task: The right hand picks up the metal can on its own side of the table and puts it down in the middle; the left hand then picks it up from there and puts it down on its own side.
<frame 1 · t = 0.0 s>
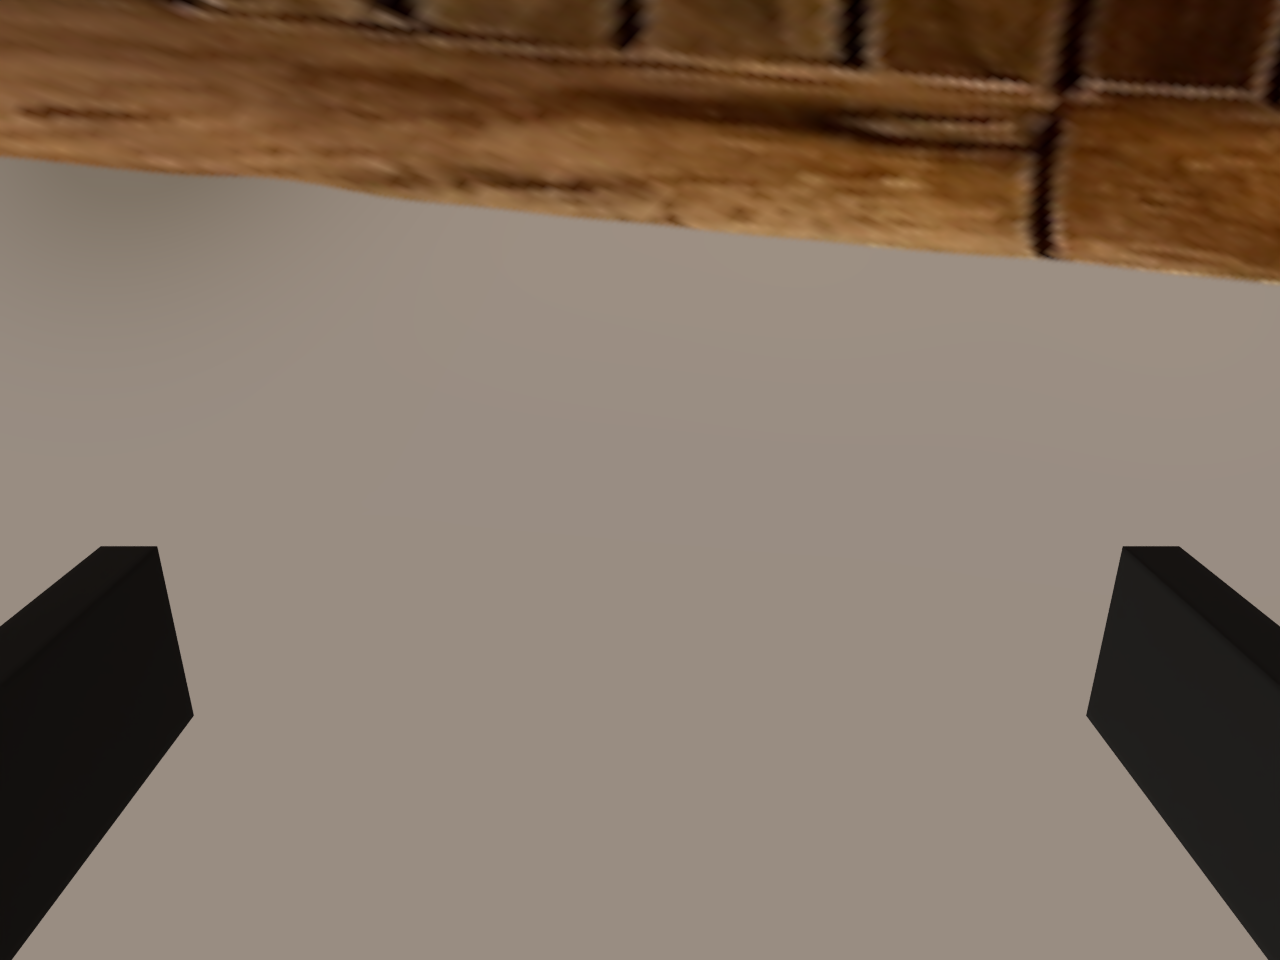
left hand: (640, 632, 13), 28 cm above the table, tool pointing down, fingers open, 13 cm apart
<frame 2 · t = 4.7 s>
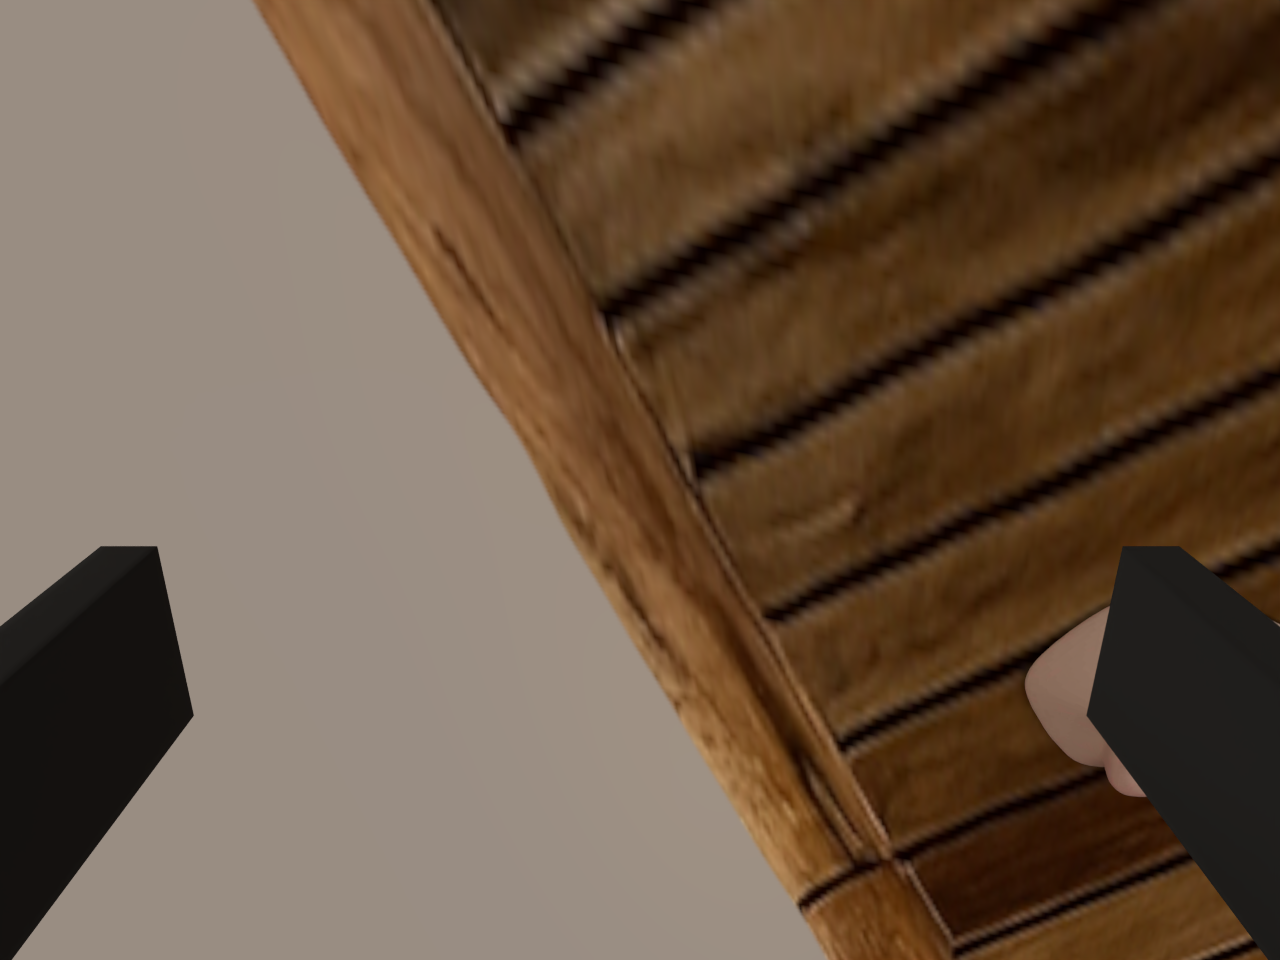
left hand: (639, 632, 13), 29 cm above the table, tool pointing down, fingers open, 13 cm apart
anatomical model: (1159, 684, 47), on the table
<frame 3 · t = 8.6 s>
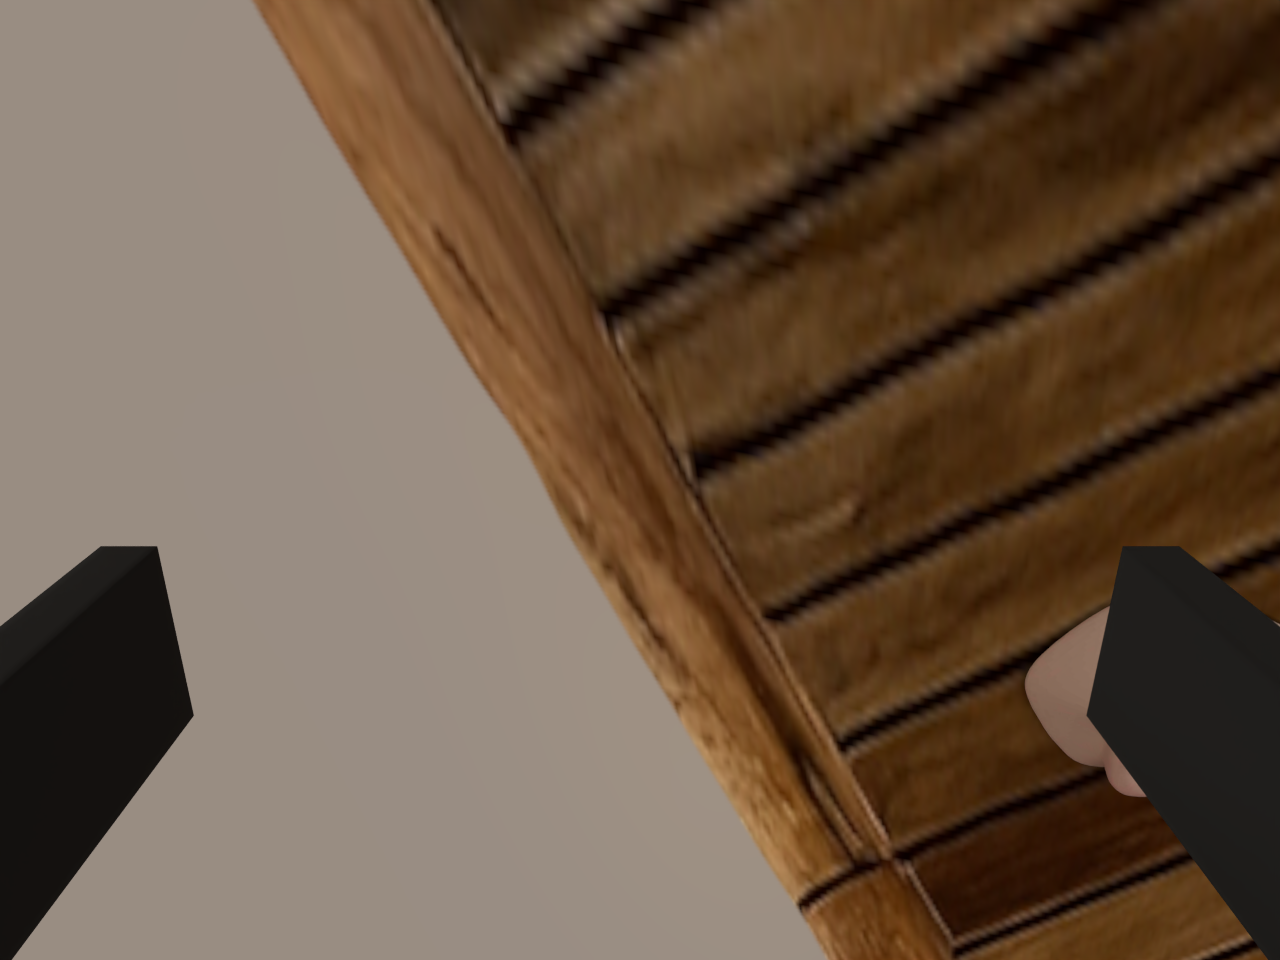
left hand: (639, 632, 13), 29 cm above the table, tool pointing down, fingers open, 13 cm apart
anatomical model: (1159, 684, 47), on the table
when the right hand's fingers open (3 cm above the table, at t = 12.7 s): can drops 1 cm, on the table.
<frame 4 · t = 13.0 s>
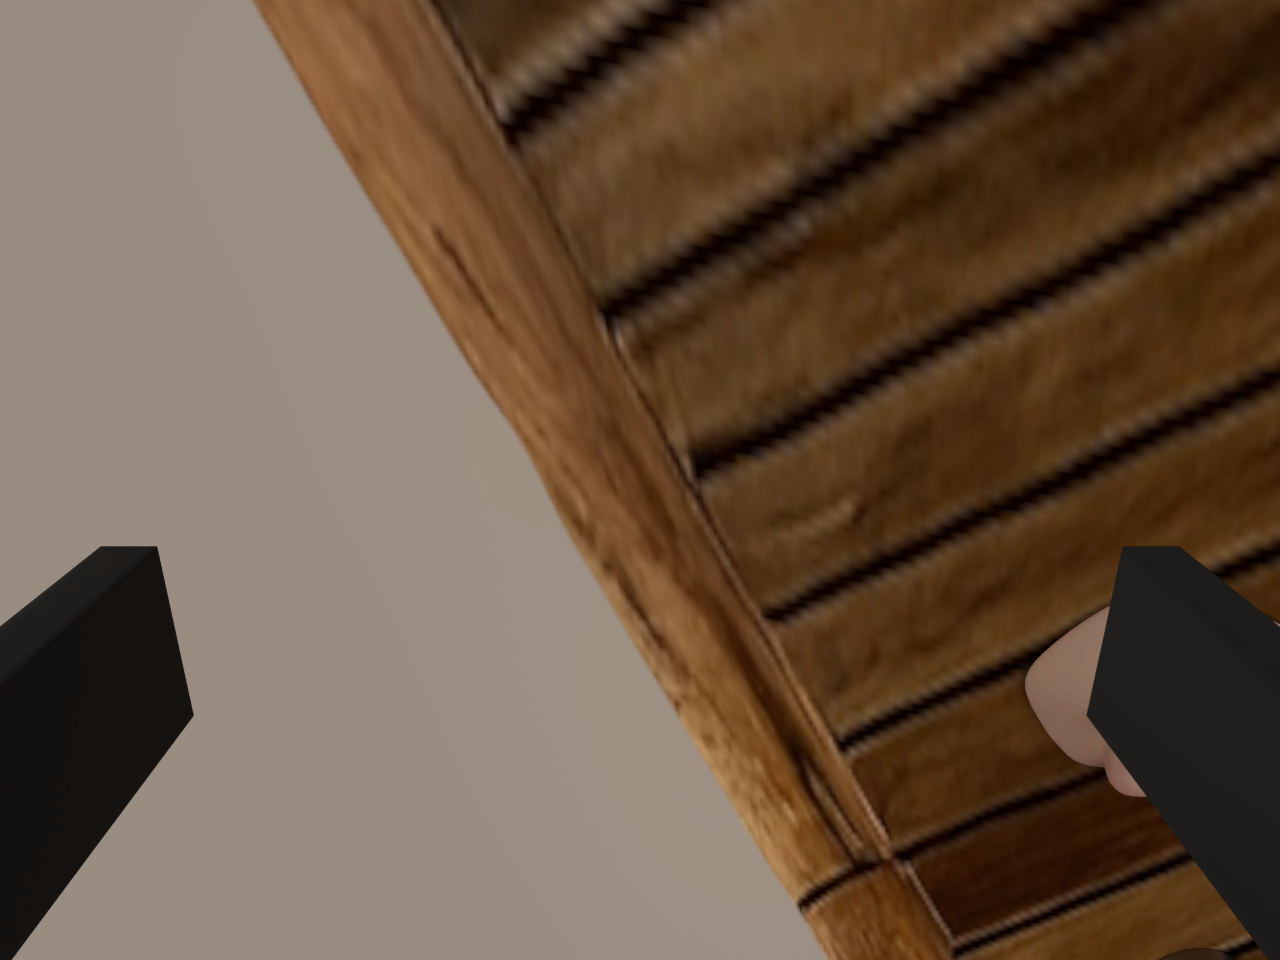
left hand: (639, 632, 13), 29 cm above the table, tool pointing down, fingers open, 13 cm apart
anatomical model: (1159, 684, 47), on the table
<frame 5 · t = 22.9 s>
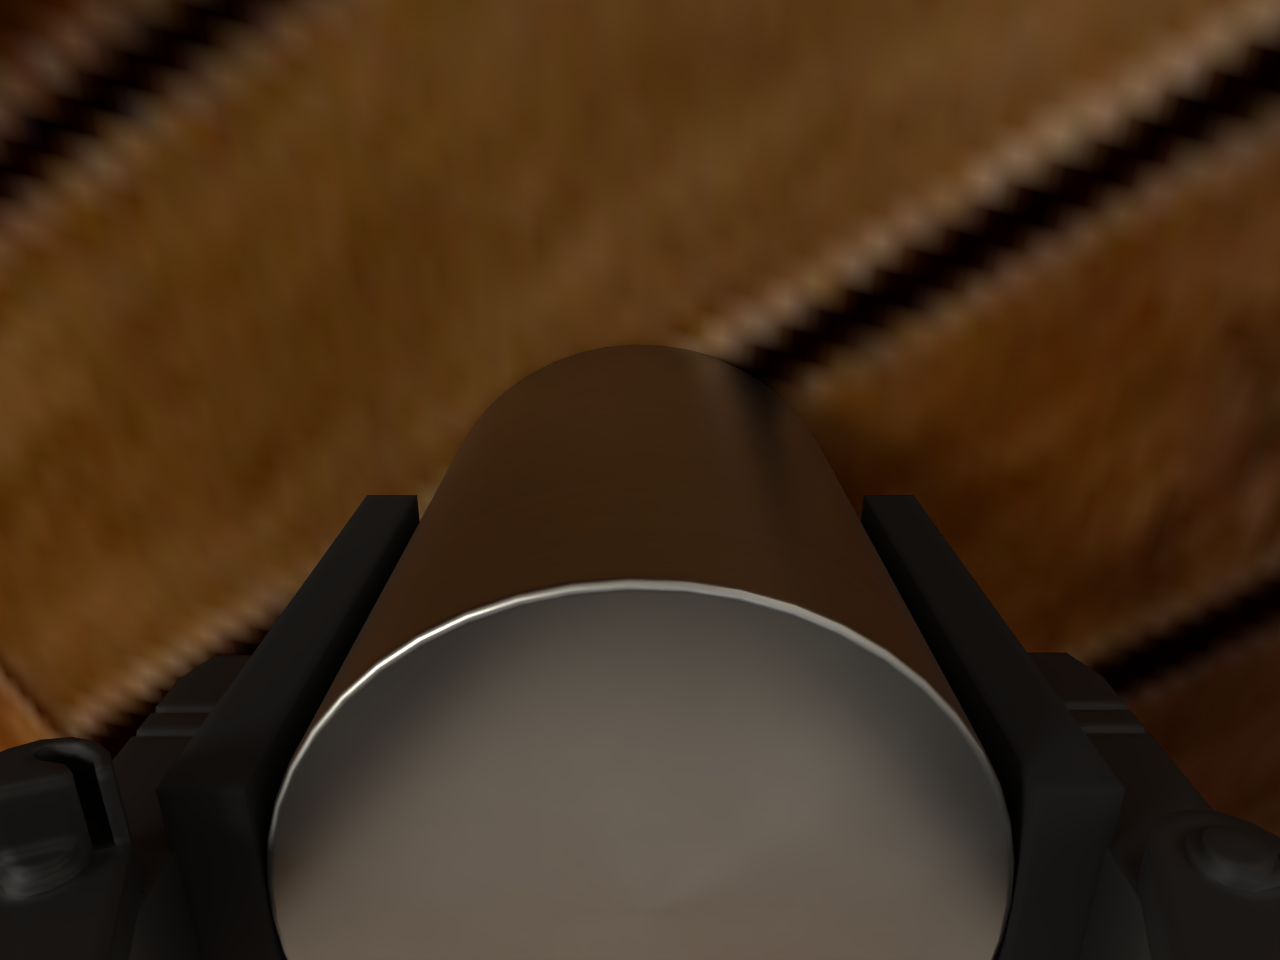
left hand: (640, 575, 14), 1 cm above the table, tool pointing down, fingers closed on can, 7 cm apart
can: (640, 538, 16), on the table, touching left hand
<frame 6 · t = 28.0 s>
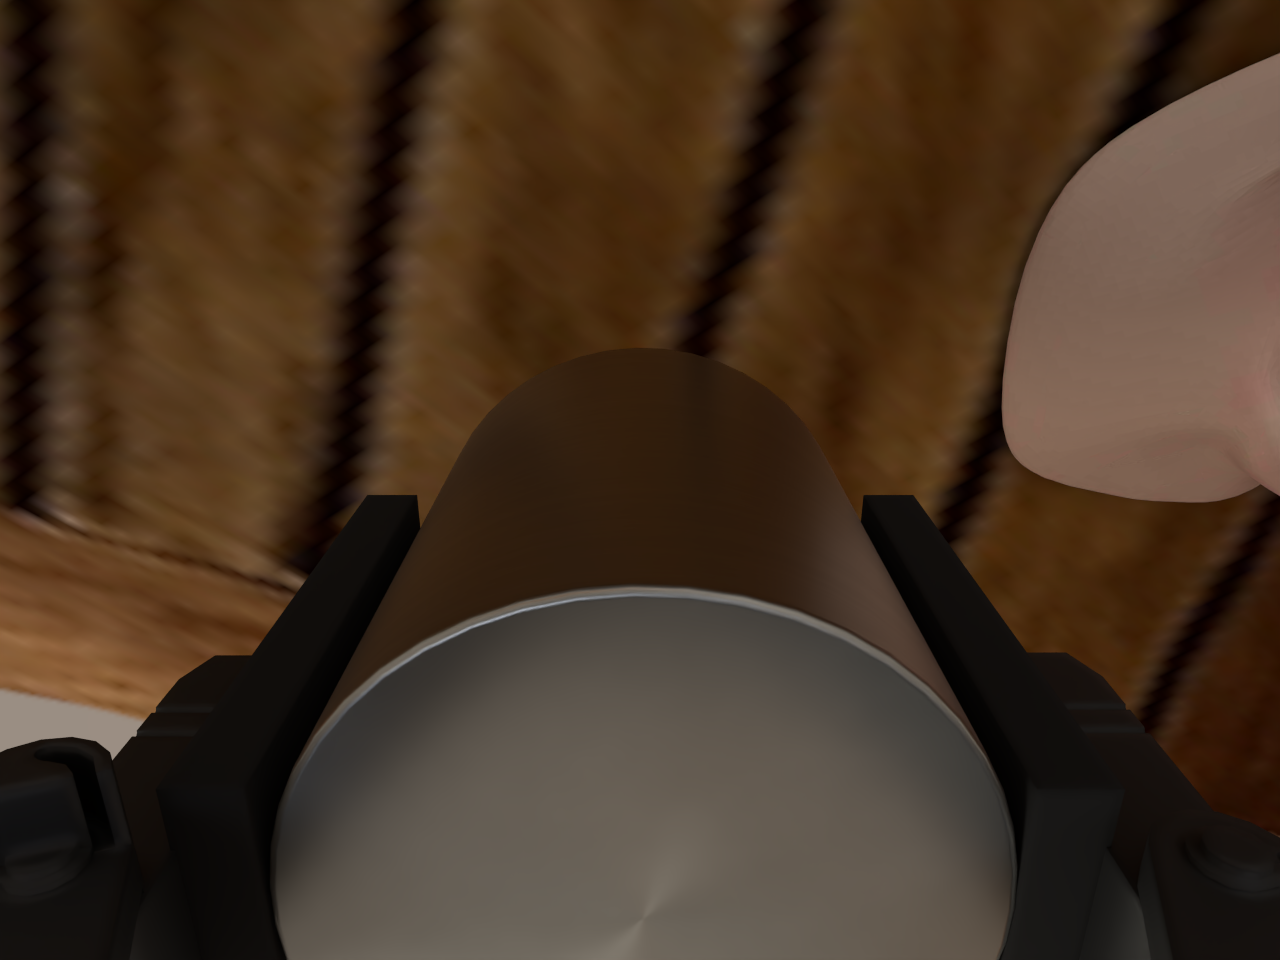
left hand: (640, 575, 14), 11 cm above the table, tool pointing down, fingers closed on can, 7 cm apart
can: (641, 541, 16), point 10 cm above the table, touching left hand
anatomical model: (1243, 288, 24), on the table
when the left hand's fingers open (3 cm above the table, at t = 33.5 s): can drops 2 cm, on the table.
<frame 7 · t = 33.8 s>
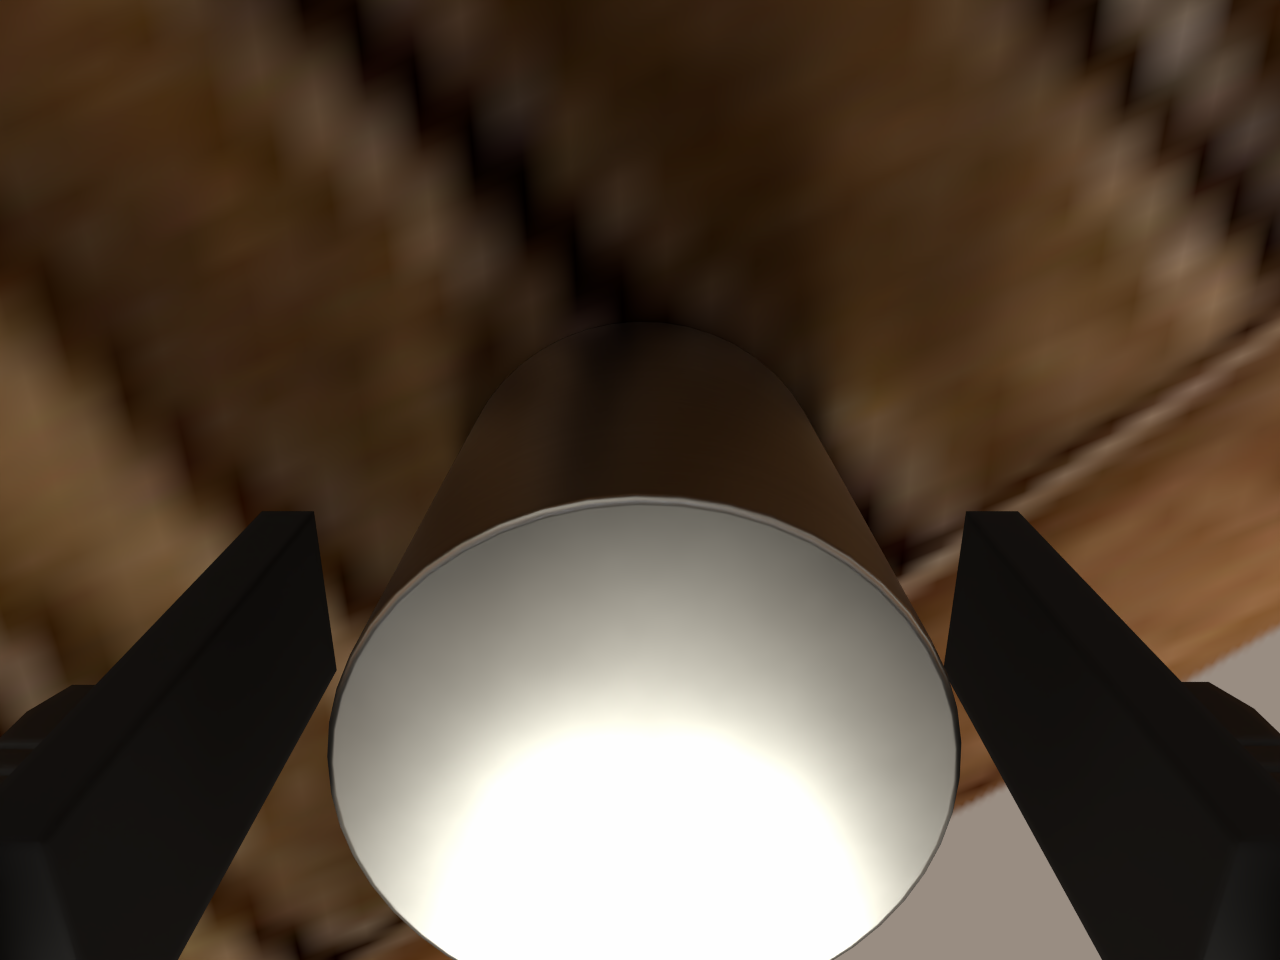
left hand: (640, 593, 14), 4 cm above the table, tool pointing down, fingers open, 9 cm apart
can: (642, 500, 17), on the table
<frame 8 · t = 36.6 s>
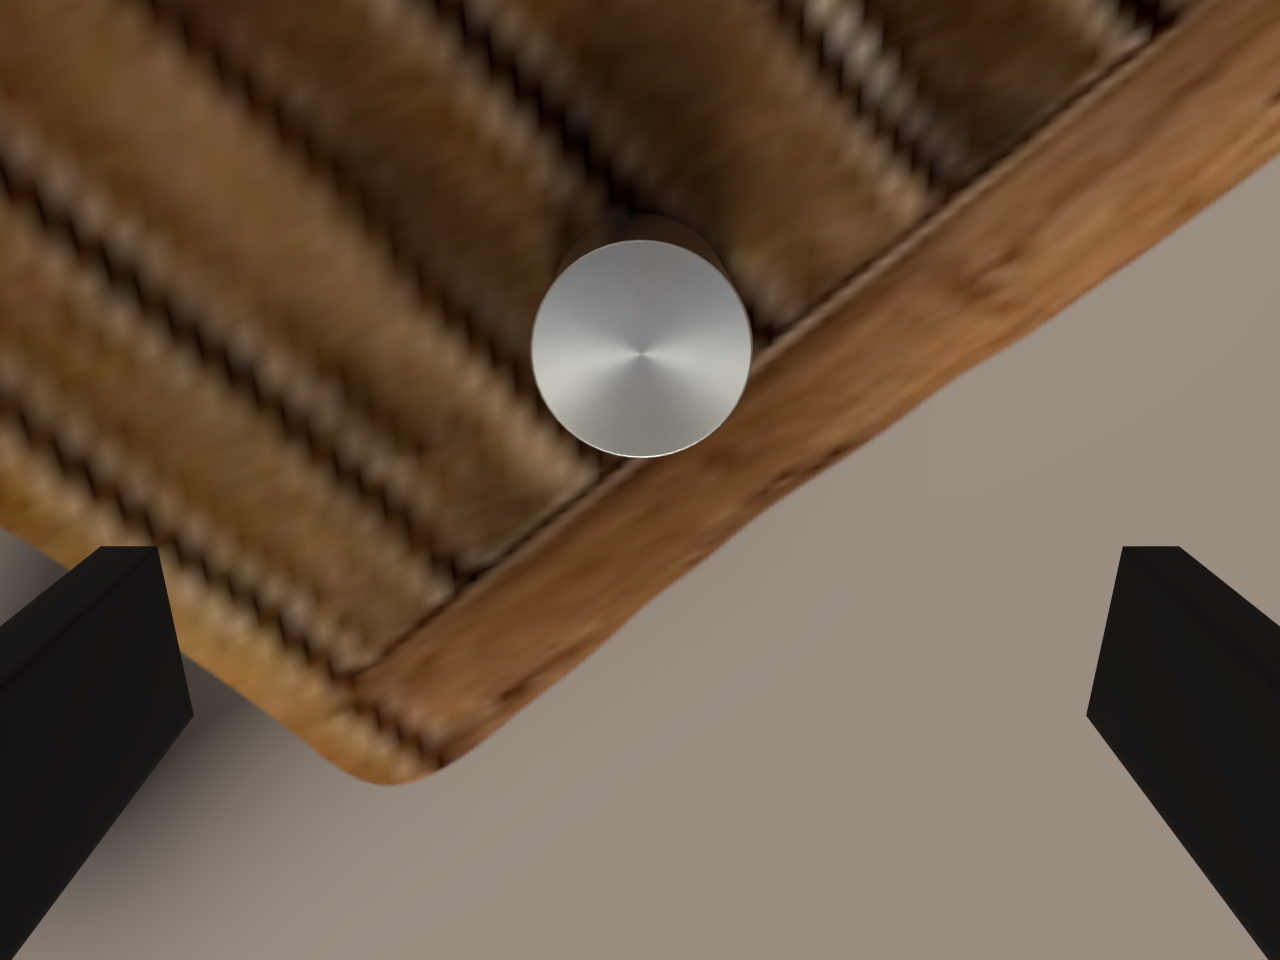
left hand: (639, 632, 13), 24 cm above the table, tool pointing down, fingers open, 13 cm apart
can: (641, 304, 35), on the table
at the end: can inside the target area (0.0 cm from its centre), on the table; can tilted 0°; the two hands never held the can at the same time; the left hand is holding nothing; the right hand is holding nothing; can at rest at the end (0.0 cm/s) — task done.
